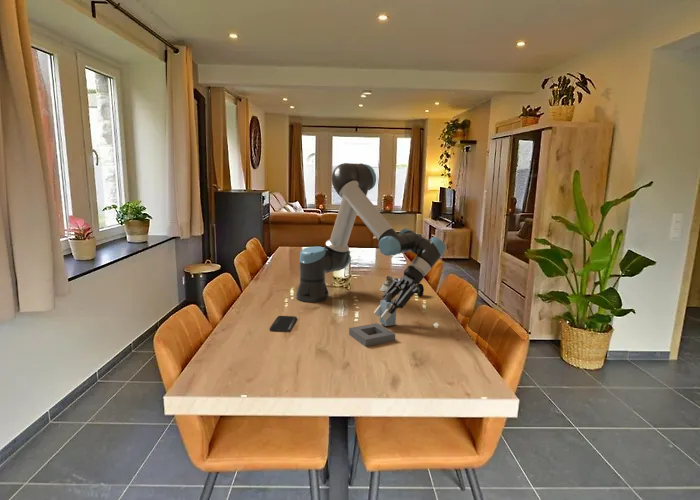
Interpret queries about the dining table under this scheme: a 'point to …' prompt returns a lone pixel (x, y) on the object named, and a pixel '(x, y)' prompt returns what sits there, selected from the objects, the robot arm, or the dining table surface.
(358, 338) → the frame
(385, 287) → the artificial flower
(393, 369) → the dining table surface
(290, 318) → the phone
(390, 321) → the connector plug
